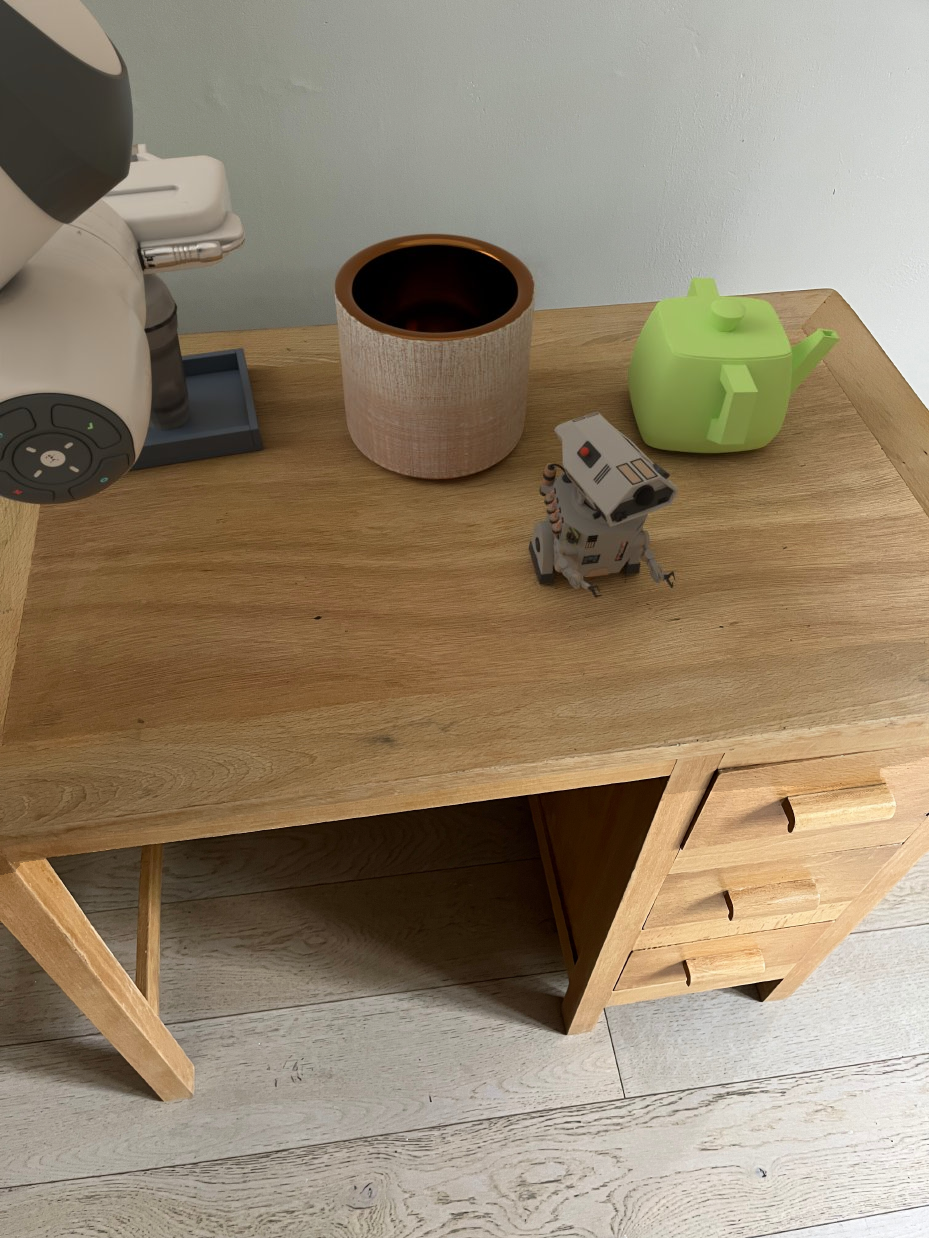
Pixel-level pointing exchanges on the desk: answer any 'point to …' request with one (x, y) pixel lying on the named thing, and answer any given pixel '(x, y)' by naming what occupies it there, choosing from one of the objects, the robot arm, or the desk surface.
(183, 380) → the beverage cup
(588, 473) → the figurine
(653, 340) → the teapot
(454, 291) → the planter
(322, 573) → the desk surface
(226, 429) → the tray
